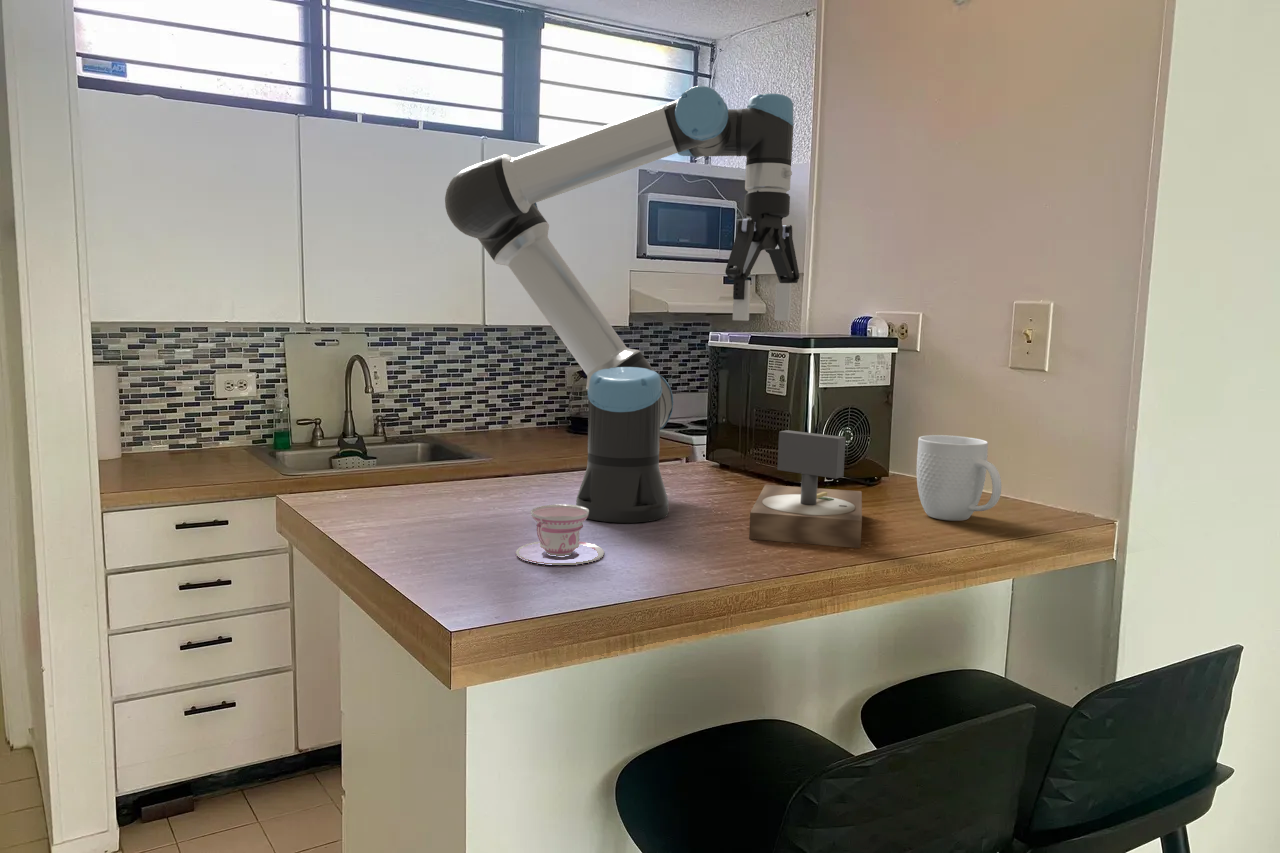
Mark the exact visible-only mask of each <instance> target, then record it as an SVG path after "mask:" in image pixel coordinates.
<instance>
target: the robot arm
mask: <svg viewBox="0 0 1280 853" xmlns="http://www.w3.org/2000/svg"><path fill="white" fill-rule="evenodd" d="M746 107H747V108H738V109H735V108H734V109H731V108H728V106H727V104H726V102H725V100H724V98H723V97H722V96H721V95H720V94H719V93H718V92H717V91H716V90H715V89H713V88H712V87H710V86H705V85H696V86H692V87H689V88H688V89H686V90H685V91H684V92H682V94H681V95H680V96H679V98H678V99H675V100H672V101H670V102H667V103H664V104H662V105H658V106H656V107H653V108H650V109H647V110H645V111H642V112H640V113H636V114H633V115H630V116H628V117H625V118H622V119H620V120H617V121H614V122H611V123H609V124H605V125H603V126H600V127H597V128H595V129H592V130H588V131H586V132H584V133H580V134H578V135H574V136H572V137H570V138H567V139H563V140H561V141H558V142H555V143H553V144H549V145H547V146H544V147H542V148H538V149H535V150H533V151H530V152H527V153H524V154H522V155H519V156H517V157H514V156H511V155H509V154H508V153H505V154H501V155H499V156H497V157H493V158H491V159H488V160H485V161H481V162H478V163H476V164H473V165H470V166H468V167H465V168H464V169H461V170H460V171H459V172H457V174H455V175H454V176H453V177H452V179H451V180H450V181H449V184H448V186H447V188H446V192H445V195H444V196H445V197H444V202H445V203H444V204H445V206H444V207H445V210H446V214H447V217H448V219H449V220H450V222H451V223H452V224H453V226H454V227H455V228H456V229H457V230H459V232H461V233H462V234H464V235H466V236H468V237H472V238H475V239H477V240H478V241H479V242H480V243H481V245H482V247H483V248H484V249H485V251H486V252H487V254H488V255H489V256H490V258H491V259H492V260H493V262H494V263H495V264H496V265H500V266H507V267H508V268H509V269H510V270H511V272H512V274H513V275H514V277H516V279H517V280H518V282H519V283H520V285H521V286H522V287H523V289H524V290H525V291H526V292H527V294H528V295H529V298H531V300H532V302H534V304H535V305H536V306H537V308H538V310H539V311H540V312H541V314H542V315H543V316H544V317H545V319H546V320H547V322H548V324H550V326H551V327H552V328H553V330H554V332H555V334H557V336H558V337H559V338H560V340H561V341H562V342H563V344H564V345H565V347H566V348H567V350H568V351H569V352H570V354H571V355H572V357H573V358H574V359H575V361H576V362H577V363H578V366H580V367H581V369H582V370H583V372H584V373H585V375H586V376H587V377H586V379H587V380H586V386H585V389H586V391H587V399H588V408H587V410H588V411H587V412H588V417H587V425H588V426H587V465H586V470H585V472H584V475H583V478H582V481H581V484H580V487H579V490H578V493H577V496H576V500H575V501H576V503H575V505H578V506H583V507H586V508H588V509H589V515H588V517H587V519H589V520H593V521H598V522H606V523H622V524H623V523H624V524H625V523H627V524H628V523H629V524H631V523H634V524H635V523H647V522H652V521H657V520H661V519H663V518H665V517H667V516H668V515H669V498H668V493H667V491H666V486H665V483H664V481H663V478H662V474H661V470H660V440H661V439H660V436H661V435H660V434H661V433H660V432H661V430H663V429H664V427H665V426H666V425H667V423H668V422H669V420H670V419H671V416H672V413H673V409H674V394H673V392H672V388H671V386H670V384H669V383H668V382H667V380H666V379H665V378H664V377H663V376H662V375H661V374H659V373H658V372H657V371H655V370H654V369H653V367H652V366H651V364H650V363H649V362H648V361H647V359H646V358H645V356H644V355H643V353H642V352H641V351H640V350H639V349H634V348H629V347H627V346H626V345H625V343H624V341H623V340H622V339H621V337H620V336H619V335H618V333H617V332H616V331H615V329H614V328H613V327H612V325H611V324H610V322H609V321H608V319H607V318H606V317H605V315H604V314H603V312H602V311H601V309H600V308H599V307H598V306H597V304H596V303H595V301H594V300H593V298H592V297H591V296H590V294H589V293H588V292H587V289H585V287H584V285H582V283H581V282H580V280H579V279H578V278H577V276H576V275H575V274H574V272H573V271H572V270H571V268H570V267H569V265H568V263H566V261H565V259H564V258H563V257H562V255H561V254H560V252H558V250H557V248H555V246H554V245H553V243H552V241H551V240H550V239H549V236H548V235H549V230H550V224H549V223H548V221H547V220H546V218H545V217H544V216H543V214H542V213H541V211H540V209H538V205H537V203H538V202H542V201H545V200H548V199H550V198H553V197H556V196H558V195H562V194H565V193H568V192H570V191H573V190H576V189H578V188H581V187H585V186H587V185H590V184H593V183H595V182H598V181H601V180H604V179H606V178H610V177H613V176H615V175H619V174H621V173H624V172H626V171H630V170H632V169H635V168H638V167H641V166H643V165H647V164H649V163H652V162H655V161H658V160H661V159H664V158H667V157H669V156H672V155H675V154H678V155H679V156H683V157H693V158H699V157H702V158H703V157H745V158H746V162H745V178H744V179H745V180H744V189H745V191H747V193H746V194H745V195H744V207H743V211H744V212H743V214H744V216H745V217H747V218H739V220H738V223H737V232H736V235H735V238H734V243H733V245H732V248H731V252H730V255H729V258H728V260H727V263H726V267H725V275H726V276H727V279H728V280H730V281H733V290H732V292H733V293H732V298H733V299H732V300H733V304H732V321H746V322H747V321H749V320H750V307H751V306H750V305H751V304H750V303H751V302H750V301H751V283H752V282H751V280H748V278H749V275H750V274H751V272H752V270H753V267H754V266H755V264H756V262H757V260H758V257H759V256H760V254H761V252H762V251H763V250H764V251H765V252H766V253H768V255H769V258H770V260H771V263H772V266H773V268H774V271H775V274H776V277H777V280H778V282H779V283H778V282H776V283H775V299H774V302H775V303H774V319H773V320H774V321H781V322H782V321H783V322H786V321H787V322H790V321H791V310H792V309H791V308H792V307H791V306H792V301H791V300H792V285H793V284H798V282H799V279H800V271H799V267H798V260H797V256H796V255H797V254H796V250H795V244H794V239H793V226H792V224H783V219H784V218H787V217H788V216H789V215H790V208H791V206H790V205H791V203H790V202H791V196H790V194H789V193H787V192H789V191H790V190H791V176H792V175H793V172H792V159H793V158H792V156H793V142H794V101H793V100H792V99H791V97H789V96H788V95H785V94H781V93H780V94H779V93H763V94H755V95H753V96H751V97H750V98H749V100H748V104H747V106H746Z"/></svg>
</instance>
